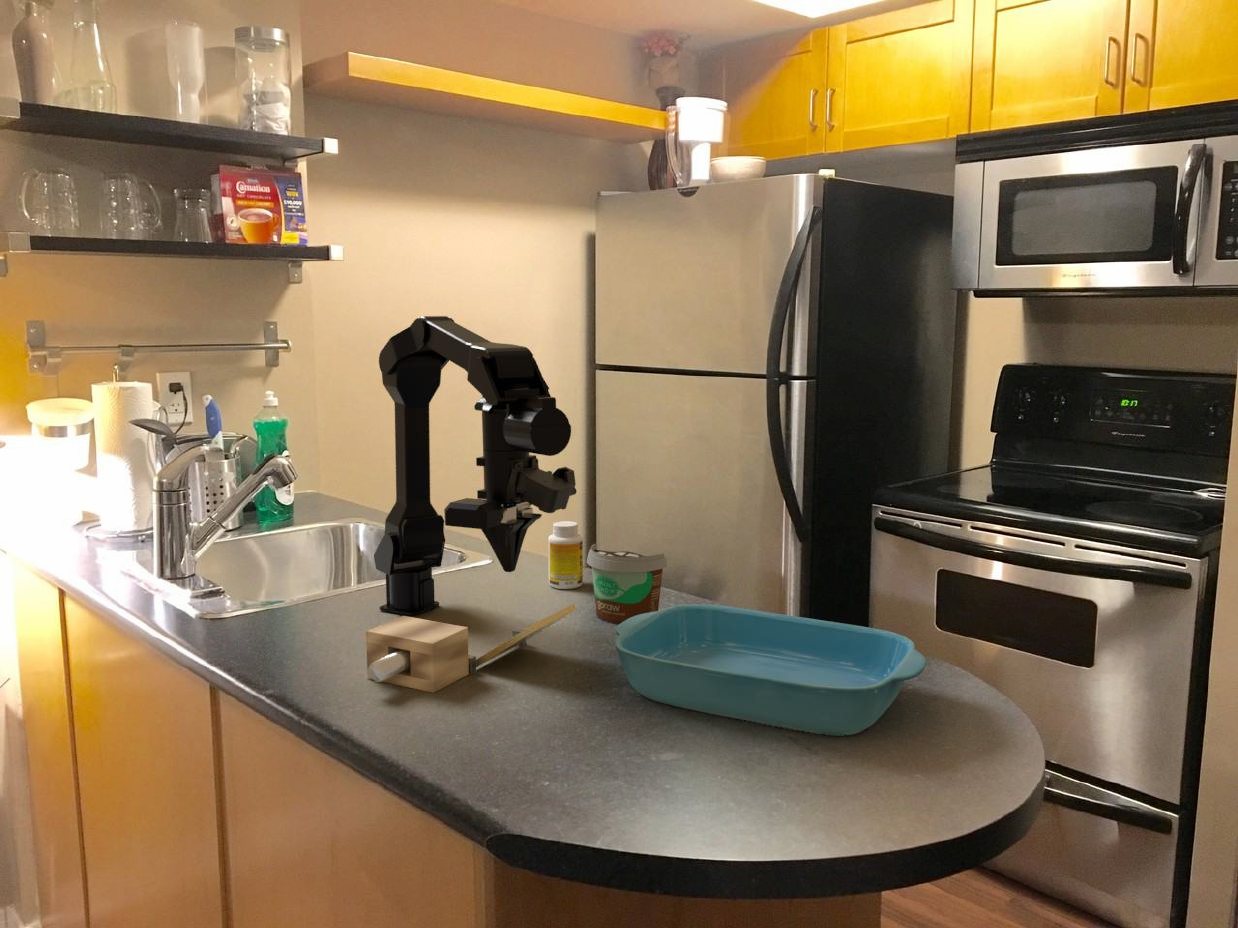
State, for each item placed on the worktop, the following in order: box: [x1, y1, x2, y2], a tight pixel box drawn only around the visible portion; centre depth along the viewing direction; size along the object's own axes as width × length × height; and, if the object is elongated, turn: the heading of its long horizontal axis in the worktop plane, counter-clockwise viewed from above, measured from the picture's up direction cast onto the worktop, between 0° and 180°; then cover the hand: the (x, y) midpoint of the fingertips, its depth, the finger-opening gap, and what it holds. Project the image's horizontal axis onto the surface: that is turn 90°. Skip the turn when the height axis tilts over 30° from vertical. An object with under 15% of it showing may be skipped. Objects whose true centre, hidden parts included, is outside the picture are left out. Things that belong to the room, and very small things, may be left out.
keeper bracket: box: [468, 628, 528, 675], centre depth 136 cm, size 2×13×2 cm, turn 152°
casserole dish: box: [614, 603, 927, 737], centre depth 123 cm, size 37×22×7 cm, turn 62°
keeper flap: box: [476, 603, 577, 668], centre depth 133 cm, size 11×10×1 cm
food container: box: [586, 543, 668, 625], centre depth 151 cm, size 12×6×10 cm, turn 62°
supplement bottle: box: [547, 520, 584, 590], centre depth 169 cm, size 6×6×10 cm
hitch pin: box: [369, 649, 411, 683], centre depth 128 cm, size 4×13×4 cm, turn 152°
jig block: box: [365, 615, 470, 694], centre depth 129 cm, size 10×7×6 cm
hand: (509, 571), depth 133 cm, fingers closed
